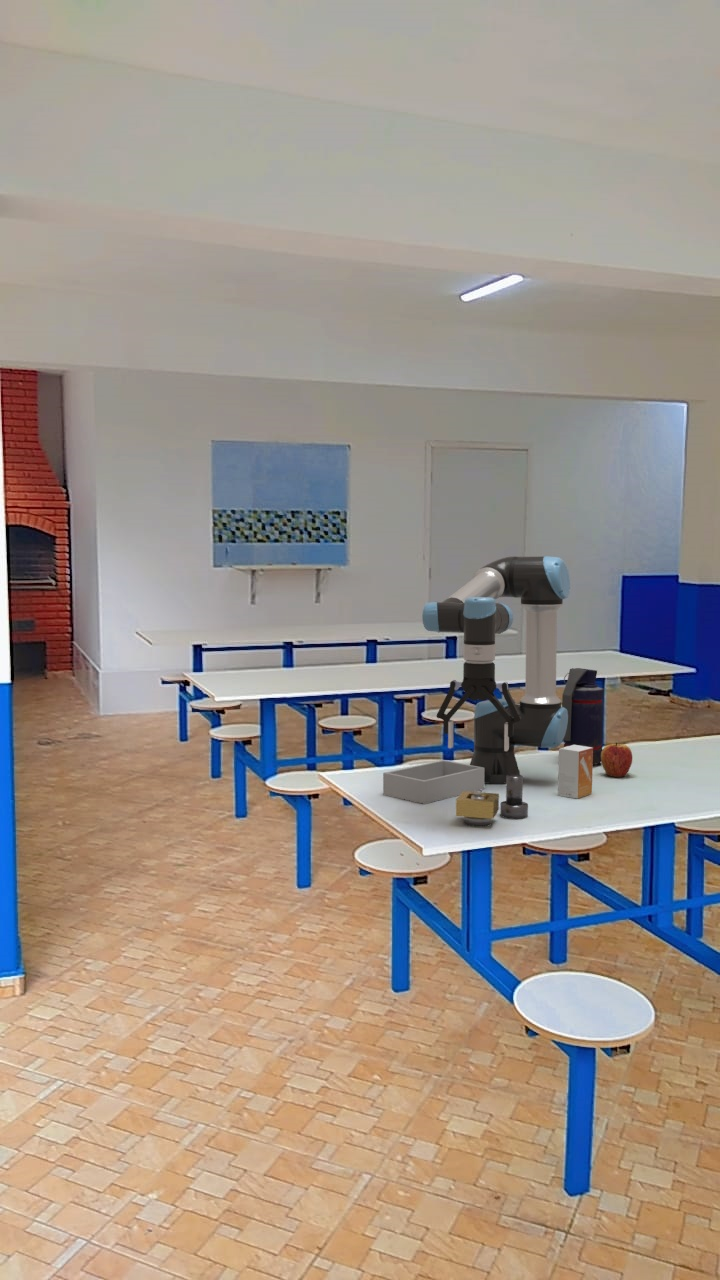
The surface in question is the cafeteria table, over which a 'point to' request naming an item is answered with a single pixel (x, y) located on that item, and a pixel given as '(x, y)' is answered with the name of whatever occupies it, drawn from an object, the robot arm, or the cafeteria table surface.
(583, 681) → the grenade
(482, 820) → the cylinder
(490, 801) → the gold square ring
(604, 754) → the apple
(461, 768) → the gray bin
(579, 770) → the small box
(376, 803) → the cafeteria table surface
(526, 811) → the dark grey round-headed cylinder
